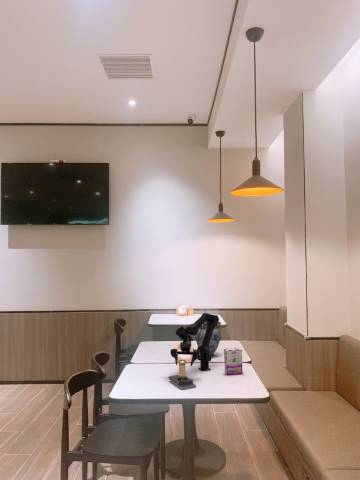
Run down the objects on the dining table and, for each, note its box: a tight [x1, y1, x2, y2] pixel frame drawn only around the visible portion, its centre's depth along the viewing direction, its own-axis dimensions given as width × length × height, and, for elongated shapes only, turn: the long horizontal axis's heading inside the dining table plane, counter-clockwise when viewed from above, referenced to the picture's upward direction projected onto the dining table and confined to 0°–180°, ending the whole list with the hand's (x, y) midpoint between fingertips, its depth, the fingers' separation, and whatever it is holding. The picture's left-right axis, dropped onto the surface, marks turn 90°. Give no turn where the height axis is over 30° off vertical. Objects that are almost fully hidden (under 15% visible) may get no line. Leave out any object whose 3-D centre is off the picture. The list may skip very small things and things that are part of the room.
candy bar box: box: [223, 347, 243, 377], centre depth 238 cm, size 11×5×16 cm, turn 101°
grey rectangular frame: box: [168, 374, 197, 391], centre depth 219 cm, size 18×10×3 cm, turn 25°
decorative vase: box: [194, 320, 222, 359], centre depth 285 cm, size 21×19×28 cm
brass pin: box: [177, 359, 187, 381], centre depth 219 cm, size 5×5×14 cm
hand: (183, 365), depth 223 cm, fingers open, 9 cm apart
